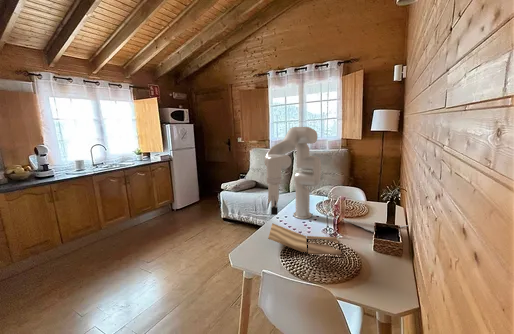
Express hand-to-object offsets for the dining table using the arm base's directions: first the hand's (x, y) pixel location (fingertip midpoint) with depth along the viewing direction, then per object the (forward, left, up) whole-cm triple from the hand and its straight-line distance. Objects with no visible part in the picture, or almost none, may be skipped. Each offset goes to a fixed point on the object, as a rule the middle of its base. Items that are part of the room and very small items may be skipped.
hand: (274, 214), depth 125 cm
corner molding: (-39, +59, -18) cm, 73 cm away
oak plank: (0, +7, -14) cm, 15 cm away
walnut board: (0, +25, -17) cm, 31 cm away
